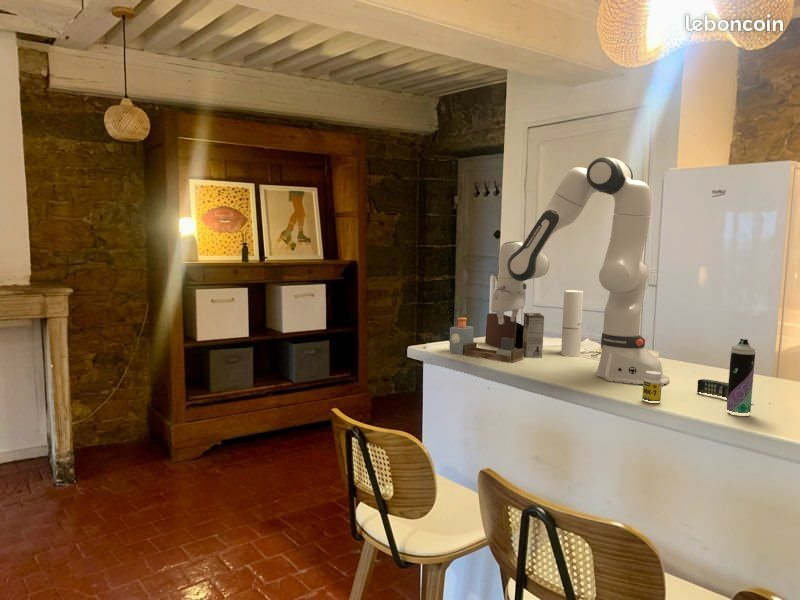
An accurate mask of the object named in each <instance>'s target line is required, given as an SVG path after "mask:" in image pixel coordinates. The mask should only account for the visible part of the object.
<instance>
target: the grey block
mask: <svg viewBox="0 0 800 600" xmlns="http://www.w3.org/2000/svg"><path fill="white" fill-rule="evenodd" d="M474 332H475V327H474V326H470V325H469V326H468V325H466V328H458V325H456V326H451V327H449V352H450V353H449V352H448V353H449V354H454V355H460V356H465V355H464V345H466V344H469V343H473V342H475V340H474V335H475V333H474Z"/></svg>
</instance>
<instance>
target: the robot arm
mask: <svg viewBox="0 0 800 600" xmlns="http://www.w3.org/2000/svg"><path fill="white" fill-rule="evenodd" d="M597 192H599V193H603V194H607V195H609V196H610V195H611V196H612V197H613V200H614V205H613V206H614V207H613V215H612V225H611V232H610V238H609V242H608V247H607V250H606V254H605V257H604V260H603V263H602V267H601V269H600V270H599V274H598V281H599V283H600V285H601V286H602V288H603V289H605V290H606V291H608V292H609V295H608V299H607V302H606V305H605V307H604V311H603V313H604V314H603V328H602V329H603V332H602V333H601V338H600V349H601V353H600V358H599V362H598V366H597V369H596V372H595V374H596V376H598V377H599V378H602V379H604V378H605V379H606V381H607V380H608V381H607V382H613V381H615V383H622V382H624V384H630V383H633V385H639V384H643V381H644V378H646V377H645V374H646V371H656V372H660V373H661V378H660V380H661V381H662V385H663V386H665V385H664V384H666V385H668V384H669V383H670V382H669V381H671V380H670V377H669V376H667V375H663V373H664V371H663V365H662V363H661V362H662V361H661V360H660V359H659V358H657V357H656V356H655V355H654V354H653V353H651V352H650V351H649V350H648V349H647V348H645V345H646V341H647V340H646V339H647V338H646V337H643V336H642V335H640V323H641V311H642V304H643V301H644V297H645V296H644V295H645V291H646V285H647V280H648V278H649V271H648V268H647V266H646V265H645V263H643V262H642V261H641V258H642V255H643V252H644V249H645V247H646V244H647V242H648V235H649V228H650V220H651V219H650V218H651V212H652V211H651V210H652V197H651V196H652V194H651V188H650V186H649V185H648V183H646V182H645V181H643V180H638V179H637V180H636V179H634V174H633V171H632V169H631V168H630V167H629V165H627V163H624V162H623V161H622V160H619V159H618V158H613V157H611V156H601V157H598V158H595V159H594V160H593V161H592V162H590V164H589V165H588V167H587V168H585V167H581V166H577V167H573V168H572V169H570V170H569V171H568V172H567V174H566V175H565V176H564V177H563V179H562V180H561V181H560V183H559V184H558V186H557V188H556V189H555V191H554V193H553V195H552V197H551V199H550V201H549V203H548V204H547V206H546V208H545V209H544V211H543V213H542V214H541V216H540V217H539V218H538V220H537V222H536V223H535V224H534V226H533V227H532V229H531V230H530V232H529V234H528V235H527V237H526V239H525V241H524V242H522V241H521V240H516V241H515V240H514V241H507V242H504V243H502V245H501V246H500V249H499V255H498V270H499V271H498V274H497V284H496V285H497V286H496V289H495V290H494V292H493V294H492V299H491V304H490V305H491V307H490V309H491V312H492V313H497V316H498V323H499V324H504V323H505V322H504V321H505V319H504V318H503V315H505V313H506V312H511V313H512V314H511V315H510V317H511V319H510V320H511V321H513V322H514V321H517V316H518V315H519V310H522V309H524V308H525V306H526V301H527V300H526V297H527V292H526V290H528V284H527V282H525V281H527V280H534V279H538V278H540V277H543V276H545V275H546V274H547V273H548V272H549V269H550V268H549V267H550V261H549V258H548V257H547V255H546V254H544V253H543V252H541V251H542V250H543V249H544V247H545V245H546V244H547V243H548V241H549V239H550V238H551V237H552V235H554V234H555V233H556V232H557V231H559V230H561V229H563V228H565V227H567V226H569V225H572V224H573V223H574V222H575V221H576V220H577V219H578V217H579V216H580V215H581V214H582V212H583V210H584V208H585V207H586V204H587V203H588V201H589V199H590V198H591V196H593V195H594V194H595V193H597ZM605 379H604V380H605ZM668 382H669V383H668ZM667 383H668V384H667Z"/></svg>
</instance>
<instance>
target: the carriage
mask: <svg viewBox="0 0 800 600" xmlns="http://www.w3.org/2000/svg"><path fill="white" fill-rule="evenodd" d="M514 341H515V339H513V338H506V337H503V338H501V348H499V347H497V348H496V349H495V350H496V355H502V356H509V357H511V352H512V351H515V350H519V349H516V348H514Z"/></svg>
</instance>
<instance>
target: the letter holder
mask: <svg viewBox="0 0 800 600" xmlns="http://www.w3.org/2000/svg"><path fill="white" fill-rule="evenodd" d="M503 318H504V319H505V321H504V322H505V323H504V324H499V323H498V316H497V313H496V312H492V313H491V312H490V313H487V314H486V325H485V326H486V328H485V341H484V343H485V345H490V346H491V347H492V346H493V347H496V348H501V338H503V337H506V338H513V339H515V341H514V348H516V349H523V326H524V324H521V323H519V322H518V321H517V320H516V321H514V322H513V321H511V320H510V319H511V315H510V316H509V315H507V314H504V315H503Z"/></svg>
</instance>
